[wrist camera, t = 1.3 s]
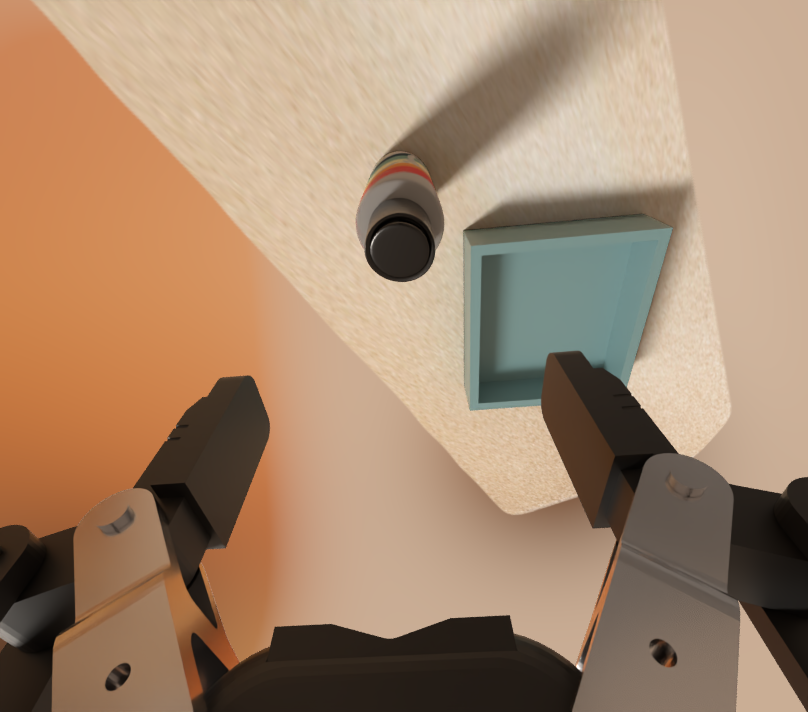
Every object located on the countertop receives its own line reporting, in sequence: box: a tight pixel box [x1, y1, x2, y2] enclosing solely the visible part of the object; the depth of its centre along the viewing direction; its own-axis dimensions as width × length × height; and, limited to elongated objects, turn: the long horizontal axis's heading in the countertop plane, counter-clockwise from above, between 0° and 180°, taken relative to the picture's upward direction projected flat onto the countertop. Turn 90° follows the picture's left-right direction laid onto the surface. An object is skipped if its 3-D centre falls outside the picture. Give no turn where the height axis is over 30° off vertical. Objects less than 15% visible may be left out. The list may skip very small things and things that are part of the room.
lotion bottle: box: [356, 151, 444, 282], centre depth 29 cm, size 6×6×20 cm
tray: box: [463, 214, 673, 410], centre depth 43 cm, size 20×18×5 cm
